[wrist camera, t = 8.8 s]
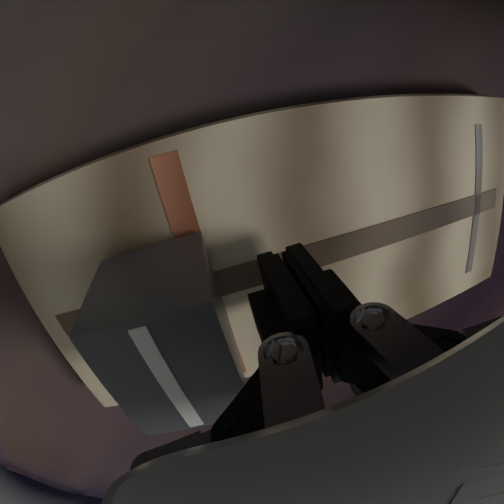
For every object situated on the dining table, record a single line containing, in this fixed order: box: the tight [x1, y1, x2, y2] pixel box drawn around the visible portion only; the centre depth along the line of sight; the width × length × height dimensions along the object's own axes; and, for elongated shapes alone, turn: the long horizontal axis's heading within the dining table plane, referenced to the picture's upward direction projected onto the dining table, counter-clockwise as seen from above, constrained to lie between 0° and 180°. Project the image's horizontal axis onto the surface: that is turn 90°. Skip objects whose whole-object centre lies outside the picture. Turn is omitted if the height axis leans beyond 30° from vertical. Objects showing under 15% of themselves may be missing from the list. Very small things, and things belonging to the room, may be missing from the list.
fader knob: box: [69, 231, 246, 436], centre depth 10 cm, size 4×5×4 cm
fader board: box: [0, 93, 504, 407], centre depth 14 cm, size 26×12×2 cm, turn 102°
